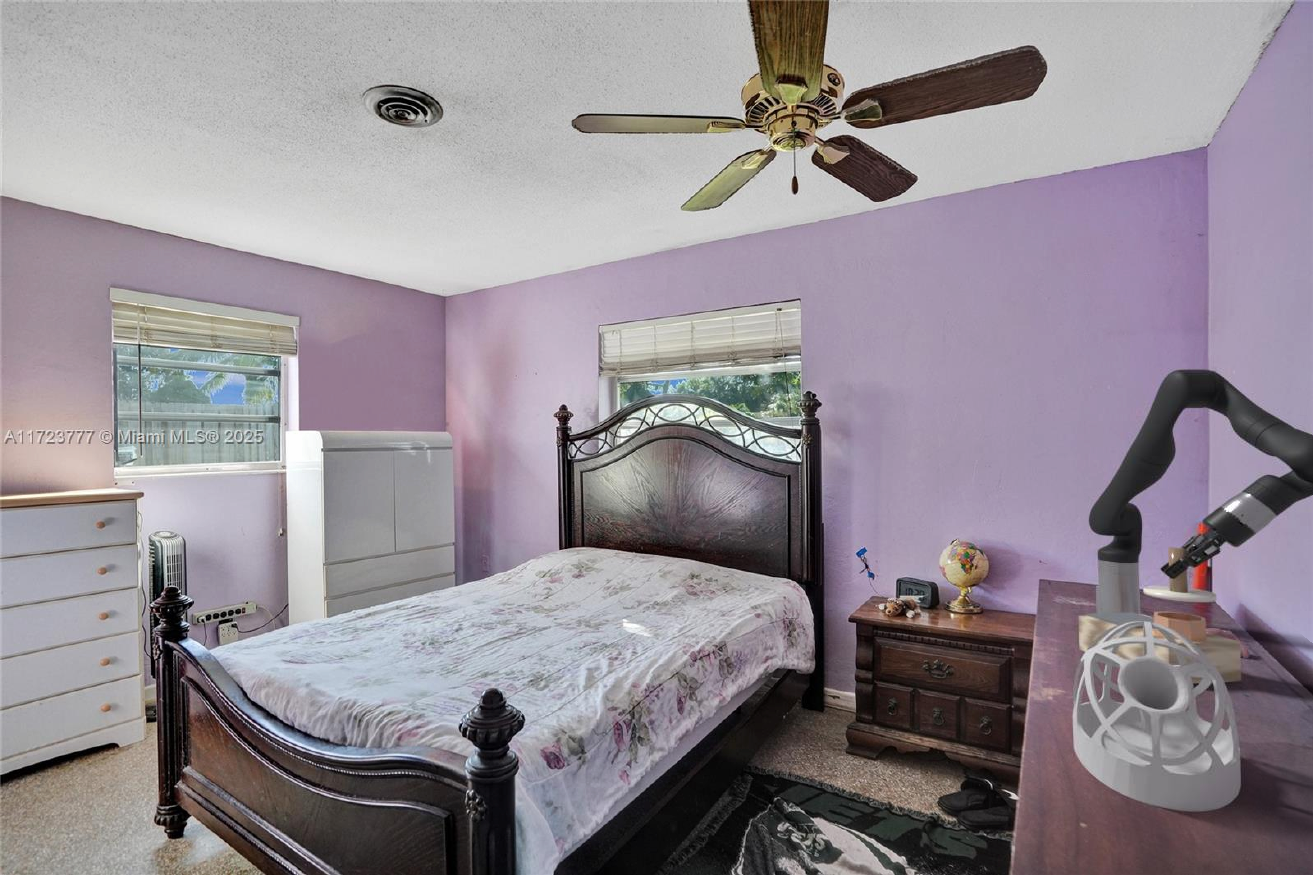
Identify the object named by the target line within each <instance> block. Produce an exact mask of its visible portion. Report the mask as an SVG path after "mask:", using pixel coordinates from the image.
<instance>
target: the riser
mask: <svg viewBox="0 0 1313 875" xmlns="http://www.w3.org/2000/svg"><path fill="white" fill-rule="evenodd" d="M1140 615H1144V616H1147V617H1151V618H1154V616H1149V615H1146V614H1143V613H1140ZM1114 626H1116V624H1113V623H1109V622H1106V621H1103V620H1100V619H1097V618H1093V617H1090V616H1087V615H1086V614H1085V615H1078V642H1079V644H1078V646H1079V647H1078V648H1079V651H1083V652H1084V653H1085V652H1086V650H1087V649H1088V647H1089V646H1090V645H1091V644H1092V642H1093V641H1094V640H1096V639H1097V638H1098V637H1099V636H1100V635H1101V634H1102V633H1104V632H1105V631H1107V630H1108V629H1110V628H1112V627H1114ZM1152 631H1153V638H1156V639H1161V640H1166V641H1168V640H1167V639H1166V637H1163V636H1160V635H1156V634H1154V628H1152ZM1120 632H1121V631H1120ZM1120 632H1118V633H1117V634H1116V635H1114V636H1113V637H1112V638H1111V639H1110V640H1113V639H1116V637H1117V636H1118V634H1119V633H1120ZM1106 636H1107V635H1106ZM1106 636H1105V637H1106ZM1105 637H1104V638H1105ZM1126 637H1143V628H1134V629H1133V630H1132V631H1130V632H1129V633H1128V634H1127V635H1126ZM1104 638H1103V639H1104ZM1103 639H1101V640H1100V641H1099V642H1098V643H1097V644H1096V645H1095V646H1097V645H1098V644H1099V643H1100V642H1101V641H1102V640H1103ZM1175 641H1176V642H1177V644H1178V645H1180V646H1182V647H1185V648H1187V649H1189V648H1188V647H1187V646H1186V645H1185V644H1184V643H1183V642H1182V641H1181V640H1177V639H1175ZM1192 642H1193V643H1194V644H1195V645H1196V646H1197V647H1198V648H1199V649H1200V650H1201V651H1202V652H1203V653H1204V654H1205V655H1206V656H1207V657H1208V658H1209V660H1210V661H1211V662H1212V664H1213V665H1214V666H1215V667H1216V669H1217V670H1218V672H1219V673H1220V675H1221V677H1222V678H1223V680H1224V682H1225V683H1231V682H1235V683H1236V682H1242V662H1241V661H1242V660H1241V658H1242V656H1241V655H1240V642H1239V641H1236V640H1232V639H1229V638H1225V637H1222V636H1218V635H1214V634H1211V633H1207V632H1206V641H1192ZM1095 646H1094V647H1095ZM1110 649H1111V648H1109V649H1107V651H1110ZM1154 650H1155V655H1156V657H1158V658H1159V659H1161V660H1164V661H1166V662H1168V663H1170V664H1171V665H1180V664H1179V661H1178V659H1177V656H1176V654H1175V652H1174V650H1171V649H1169V648H1166V647H1161V646H1157V645H1154ZM1189 650H1190V649H1189ZM1190 651H1191V650H1190ZM1116 655H1117V656H1119V657H1121V658H1124V659H1128V660H1131V659H1134V658H1137V657H1143V644H1139V643H1136V644H1124V645H1120V646H1119V648H1118V651H1117V653H1116ZM1184 657H1185V660H1186V662H1187V664H1188V665H1191V664H1195V663H1197V662H1196V661H1194V660H1193V659H1191V658H1189V657H1187V656H1185V655H1184ZM1191 678H1192V682H1193V684H1199V683H1200V682H1201V680H1202V679H1203V678H1200V677H1191ZM1212 684H1213V682H1212Z"/></svg>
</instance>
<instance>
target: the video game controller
mask: <svg viewBox="0 0 1313 875" xmlns="http://www.w3.org/2000/svg"><path fill="white" fill-rule="evenodd" d="M1206 632H1207V633H1211V634H1214V635H1218V636H1222V637H1225V638H1229V639H1232V640H1236V641H1239V642H1240V655H1241V658H1244V659H1248V658H1249V657H1250V652H1249V650H1248V648H1247V647H1246V646H1245V645H1244V644H1243V642H1242V641H1241V640H1240V638H1238V636H1237V635H1236V634H1235V633H1232V631H1231V630H1224V629H1221V628H1212V627H1211V628H1208V627H1206Z"/></svg>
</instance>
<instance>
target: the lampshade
mask: <svg viewBox="0 0 1313 875" xmlns="http://www.w3.org/2000/svg"><path fill="white" fill-rule="evenodd" d="M1139 626H1143V637H1126V635H1127V634H1128V633H1129V632H1130V631H1132V630H1133V629H1134V628H1136V627H1139ZM1152 627H1154V628H1155V629H1157V630H1158V631H1160V632H1161V633H1162V634H1163V635H1164V636H1165V637H1166V639H1167V640H1168V641H1166V640H1161V639H1156V638H1153V631H1152ZM1120 631H1121V632H1120ZM1118 632H1120V633H1119V634H1118V636H1117V637H1116V639H1113V640H1110V639H1111V638H1112V637H1113V636H1114V635H1116V634H1117V633H1118ZM1170 633H1171V634H1173V635H1174V636H1175V637H1177V638H1178V639H1180V640H1181V641H1182V642H1183V643H1184V644H1185V645H1186V646H1187V647H1188V648H1189V649H1190V650H1191V651H1190V650H1189V649H1187V648H1185V647H1182V646H1180V645H1178V644H1177V642H1176V641H1175V639H1174V638H1173V637H1172V636H1171V635H1170ZM1106 635H1107V636H1106ZM1105 636H1106V637H1105ZM1104 637H1105V638H1104ZM1103 638H1104V639H1103ZM1101 639H1103V640H1102V641H1101V642H1100V643H1099V644H1098V645H1097V646H1095V645H1096V644H1097V643H1098V642H1099V641H1100V640H1101ZM1136 643H1139V644H1143V657H1137V658H1134V659H1131V660H1128V659H1124V658H1121V657H1119V656H1117V655H1116V653H1117V651H1118V648H1119V646H1120V645H1124V644H1136ZM1154 645H1157V646H1161V647H1166V648H1169V649H1171V650H1174V652H1175V654H1176V656H1177V659H1178V661H1179V664H1180V665H1171V664H1170V663H1168V662H1166V661H1164V660H1161V659H1159V658H1158V657H1156V655H1155V650H1154ZM1094 646H1095V647H1094ZM1109 648H1111V649H1110V651H1107V649H1109ZM1184 655H1185V656H1187V657H1189V658H1191V659H1193V660H1194V661H1196V662H1197V663H1195V664H1191V665H1188V664H1187V662H1186V660H1185V657H1184ZM1098 663H1100V664H1104V665H1105V666H1104V671H1102V670H1101V668H1100V667H1099V665H1098ZM1113 667H1114V668H1116V669H1119V671H1118V675H1117V684H1115V683H1114V682H1113V681H1112V680H1111V677H1112V674H1113V673H1112V672H1113ZM1082 668H1083V673H1082V674H1081V671H1082ZM1080 675H1081V677H1080ZM1094 675H1096V676H1097V677H1098V678H1099V679H1100V680H1101V681H1102V695H1101V698H1100V699H1098V695H1097V692H1096V688H1095V681H1094V680H1095V679H1094ZM1191 677H1200V678H1203V679H1202V680H1201V682H1200V683H1198V684H1197V685H1196V686H1195V687H1194V683H1193V682H1192V678H1191ZM1079 678H1080V681H1079ZM1212 682H1213V683H1212ZM1078 684H1079V685H1078ZM1211 685H1213V689H1214V690H1213V691H1214V704H1215V705H1214V713H1213V719H1212V720H1211V721H1212V722H1209V721H1206V720H1204V719H1203V718H1202V717H1201V716H1200V715H1199V712H1198V710H1197V700H1196V699H1197V698H1196V697H1197V696H1198V695H1200V694H1202V693H1204V691H1206V690H1207V689H1208V688H1209V687H1210V686H1211ZM1084 689H1086V693H1087V696H1088V699H1089V702H1083V703H1082V699H1083V695H1084ZM1111 689H1112V690H1114V691H1115V692H1117V693H1119V694H1121V696H1122V697H1123V699H1124V700H1123V702H1118V701H1115V700H1113V699H1112V698H1111V695H1110V694H1111ZM1072 702H1073V711H1072V732H1073V733H1072V736H1073V750H1074V752H1075V754H1076V757H1077V758H1078V760H1079V761H1080V763H1081V764H1082V766H1083V767H1084V768H1085V769H1086V770H1087V771H1088V772H1089V773H1090V774H1091V775H1093V777H1095V778H1096V779H1097V780H1098V781H1099V782H1100V783H1103V785H1105V786H1107V787H1108V788H1109V789H1111V790H1114V791H1115V792H1118V793H1120V794H1121V795H1124V796H1125V797H1128V798H1130V799H1132V800H1135V801H1138V802H1142V803H1144V804H1148V805H1151V806H1154V807H1158V808H1163V809H1168V810H1173V811H1181V812H1182V811H1183V812H1208V811H1213V810H1218V809H1221V808H1224V807H1225V806H1228V805H1229V804H1231V803H1232V802H1233V801H1234V800H1235V799H1236V798H1237V797H1238V795H1239V793H1240V790H1241V786H1242V782H1241V781H1242V777H1241V772H1242V771H1241V770H1242V769H1241V747H1240V743H1239V741H1240V740H1239V734H1238V728H1237V723H1236V714H1235V710H1234V704H1233V701H1232V698H1231V696H1230V692H1229V691H1228V688H1227V685H1226V682H1224V680H1223V678H1222V677H1221V675H1220V673H1219V672H1218V670H1217V669H1216V667H1215V666H1214V665H1213V664H1212V662H1211V661H1210V660H1209V658H1208V657H1207V656H1206V655H1205V654H1204V653H1203V652H1202V651H1201V650H1200V649H1199V648H1198V647H1197V646H1196V645H1195V644H1194V643H1193V642H1192V641H1190V640H1189V639H1188V638H1186V637H1185V636H1184V635H1182V634H1180V633H1179V632H1177V631H1175V630H1173V629H1171V628H1168V627H1166V626H1163V625H1160V624H1157V623H1152V622H1145V621H1135V622H1128V623H1124V624H1119V625H1116V626H1114V627H1112V628H1110V629H1108V630H1107V631H1105V632H1104V633H1102V634H1101V635H1100V636H1099V637H1098V638H1097V639H1096V640H1094V641H1093V642H1092V644H1091V645H1090V646H1089V647H1088V649H1087V650H1086V652H1085V651H1084V653H1083V654H1082V657H1081V658H1080V661H1079V663H1078V665H1077V668H1076V672H1075V675H1074V678H1073V686H1072ZM1225 711H1226V713H1225ZM1225 714H1226V715H1227V719H1228V723H1229V727H1228V729H1227V730H1226V729H1223V728H1222V727H1223V726H1222V725H1223V722H1224V718H1225Z"/></svg>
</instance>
